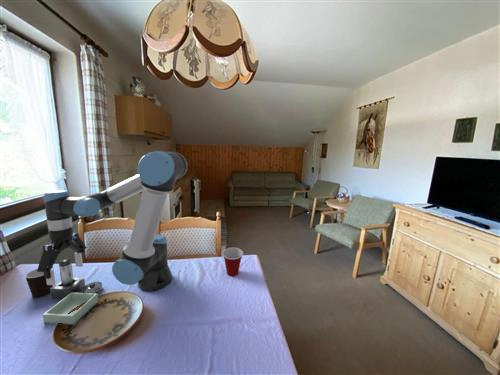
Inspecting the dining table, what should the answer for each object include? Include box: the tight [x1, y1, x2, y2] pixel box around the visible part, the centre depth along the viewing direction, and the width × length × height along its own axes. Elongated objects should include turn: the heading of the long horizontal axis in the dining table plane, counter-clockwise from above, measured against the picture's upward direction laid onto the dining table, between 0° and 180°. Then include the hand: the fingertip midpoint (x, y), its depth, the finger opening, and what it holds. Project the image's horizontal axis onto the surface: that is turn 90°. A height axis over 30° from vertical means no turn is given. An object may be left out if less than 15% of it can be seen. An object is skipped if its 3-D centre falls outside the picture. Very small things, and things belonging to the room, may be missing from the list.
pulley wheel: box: [81, 281, 103, 295], centre depth 93 cm, size 7×7×3 cm
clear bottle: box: [58, 257, 74, 287], centre depth 90 cm, size 4×4×16 cm
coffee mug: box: [24, 266, 54, 299], centre depth 92 cm, size 12×9×10 cm
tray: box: [42, 292, 99, 326], centre depth 81 cm, size 11×12×4 cm
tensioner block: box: [50, 276, 86, 301], centre depth 91 cm, size 8×8×5 cm
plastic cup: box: [222, 247, 244, 277], centre depth 109 cm, size 11×11×12 cm
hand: (66, 274), depth 90 cm, fingers open, 13 cm apart
